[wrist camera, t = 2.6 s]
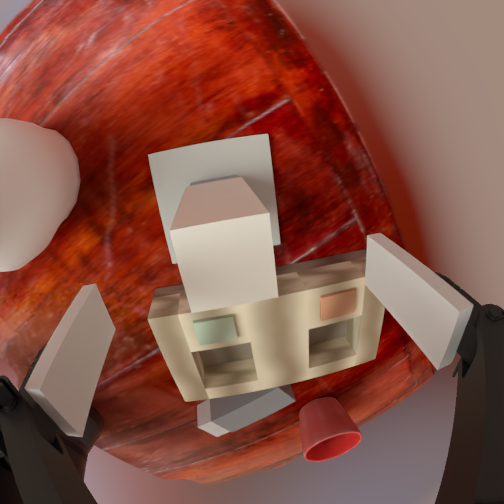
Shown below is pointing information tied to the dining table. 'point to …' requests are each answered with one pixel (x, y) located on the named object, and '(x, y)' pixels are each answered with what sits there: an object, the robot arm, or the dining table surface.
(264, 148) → the mat
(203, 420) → the plug
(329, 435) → the flower pot
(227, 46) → the dining table surface
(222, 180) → the plug
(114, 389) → the dining table surface
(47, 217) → the vase
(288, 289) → the socket box
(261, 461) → the dining table surface
